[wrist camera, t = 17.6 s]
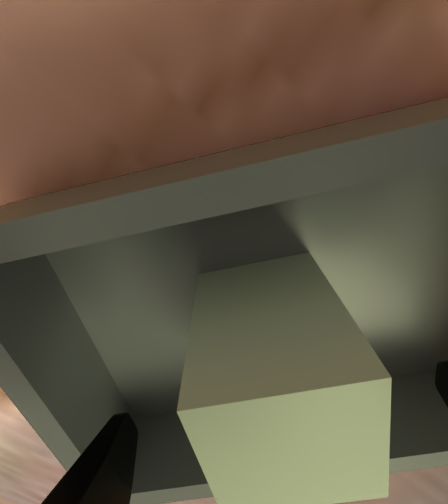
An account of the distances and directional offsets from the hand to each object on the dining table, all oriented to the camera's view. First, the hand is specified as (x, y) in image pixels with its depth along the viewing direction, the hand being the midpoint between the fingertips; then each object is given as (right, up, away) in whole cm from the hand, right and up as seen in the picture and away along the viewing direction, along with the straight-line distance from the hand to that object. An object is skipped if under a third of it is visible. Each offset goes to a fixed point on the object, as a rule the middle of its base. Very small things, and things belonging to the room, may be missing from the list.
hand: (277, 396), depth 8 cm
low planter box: (0, +2, +5) cm, 6 cm away
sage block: (0, +2, +4) cm, 4 cm away
